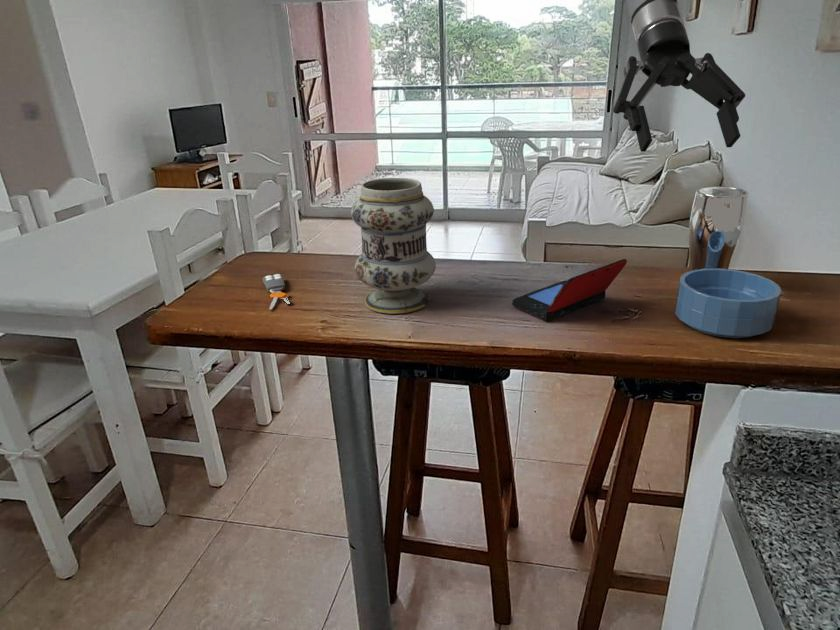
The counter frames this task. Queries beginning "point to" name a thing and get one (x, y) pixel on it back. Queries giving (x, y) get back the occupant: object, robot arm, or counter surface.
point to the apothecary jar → (394, 244)
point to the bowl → (727, 302)
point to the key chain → (275, 288)
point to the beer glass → (715, 226)
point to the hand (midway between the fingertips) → (690, 144)
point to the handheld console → (569, 293)
